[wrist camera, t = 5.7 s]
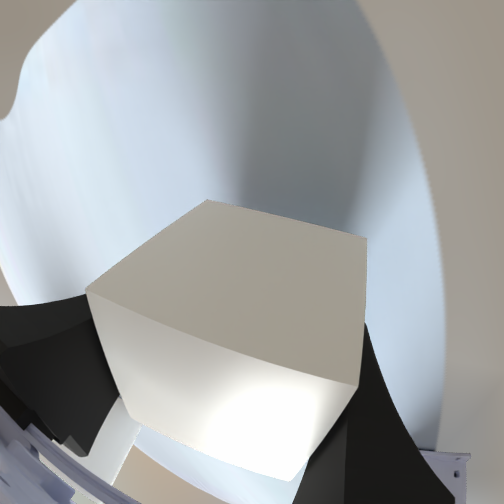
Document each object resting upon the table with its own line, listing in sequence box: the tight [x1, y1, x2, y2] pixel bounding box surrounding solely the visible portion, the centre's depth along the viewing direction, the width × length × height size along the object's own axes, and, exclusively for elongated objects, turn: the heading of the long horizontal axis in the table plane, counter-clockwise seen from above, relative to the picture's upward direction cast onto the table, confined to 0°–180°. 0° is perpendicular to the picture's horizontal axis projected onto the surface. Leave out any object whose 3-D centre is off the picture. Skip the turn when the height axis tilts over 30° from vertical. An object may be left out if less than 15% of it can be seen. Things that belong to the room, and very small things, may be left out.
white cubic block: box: [85, 200, 367, 482], centre depth 9 cm, size 6×6×6 cm
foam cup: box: [38, 397, 143, 504], centre depth 26 cm, size 10×9×13 cm
